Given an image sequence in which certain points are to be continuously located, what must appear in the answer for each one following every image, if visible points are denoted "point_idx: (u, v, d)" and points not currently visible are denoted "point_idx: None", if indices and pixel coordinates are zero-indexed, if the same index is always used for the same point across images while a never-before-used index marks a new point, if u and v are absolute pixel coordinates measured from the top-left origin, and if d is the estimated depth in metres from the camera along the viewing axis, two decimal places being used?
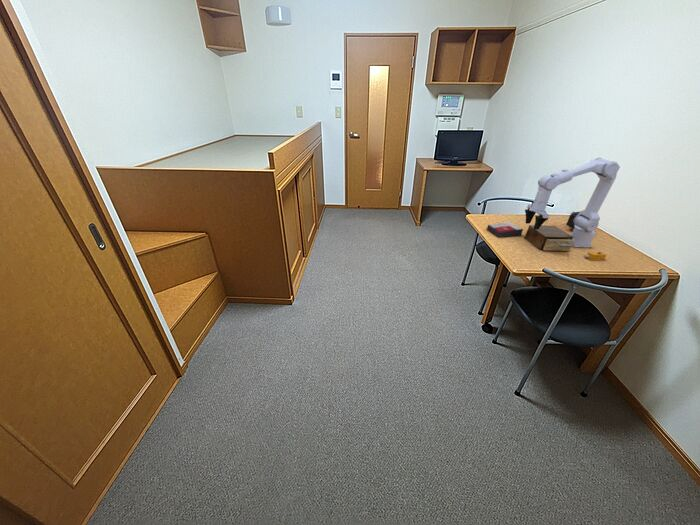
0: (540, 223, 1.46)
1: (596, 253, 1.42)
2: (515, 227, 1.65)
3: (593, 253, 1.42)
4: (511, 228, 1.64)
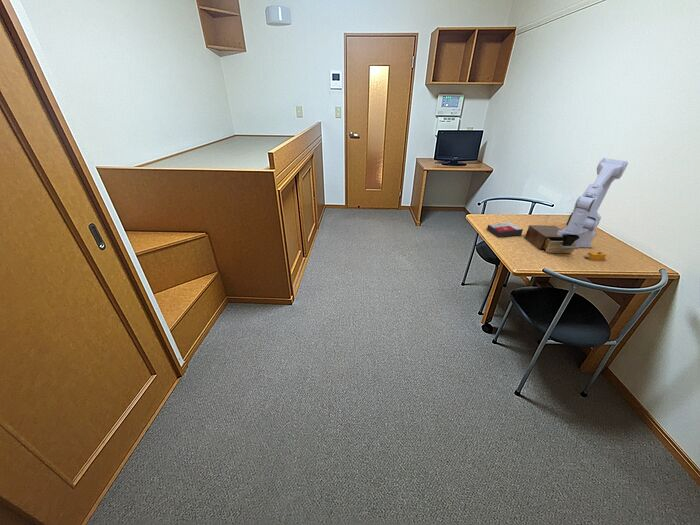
0: (567, 242, 1.41)
1: (596, 253, 1.42)
2: (515, 227, 1.65)
3: (593, 253, 1.42)
4: (511, 228, 1.64)
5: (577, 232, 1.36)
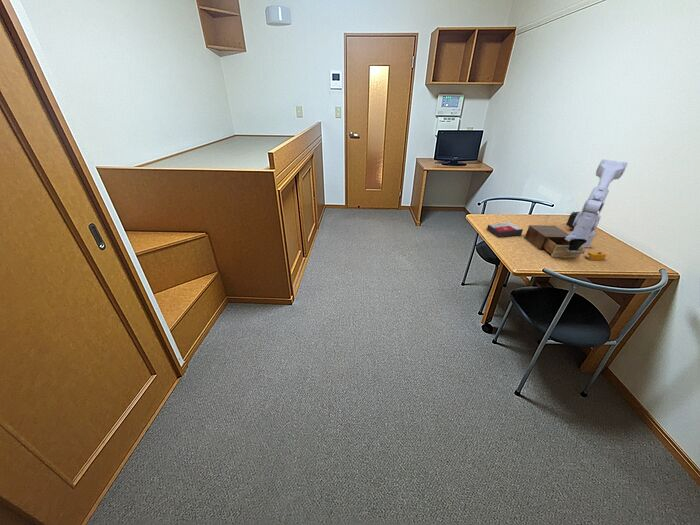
0: (574, 247, 1.37)
1: (596, 253, 1.42)
2: (515, 227, 1.65)
3: (593, 253, 1.42)
4: (511, 228, 1.64)
5: (585, 236, 1.32)
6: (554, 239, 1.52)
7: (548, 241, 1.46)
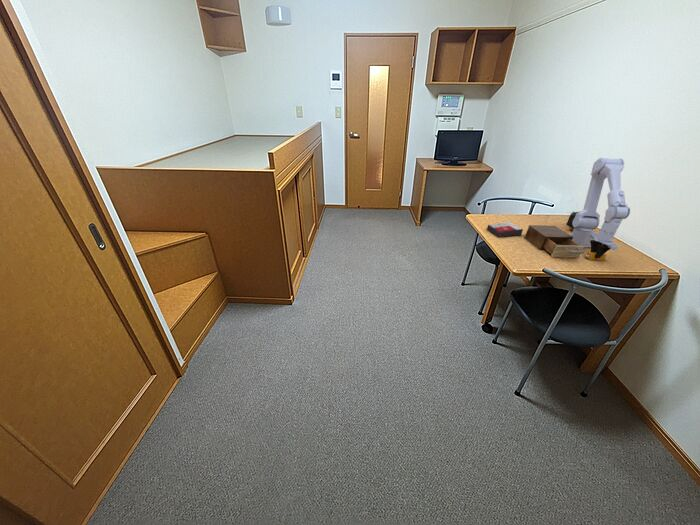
0: (602, 252, 1.40)
1: None
2: (515, 227, 1.65)
3: (593, 253, 1.42)
4: (511, 228, 1.64)
5: None
6: (554, 239, 1.52)
7: (548, 241, 1.46)
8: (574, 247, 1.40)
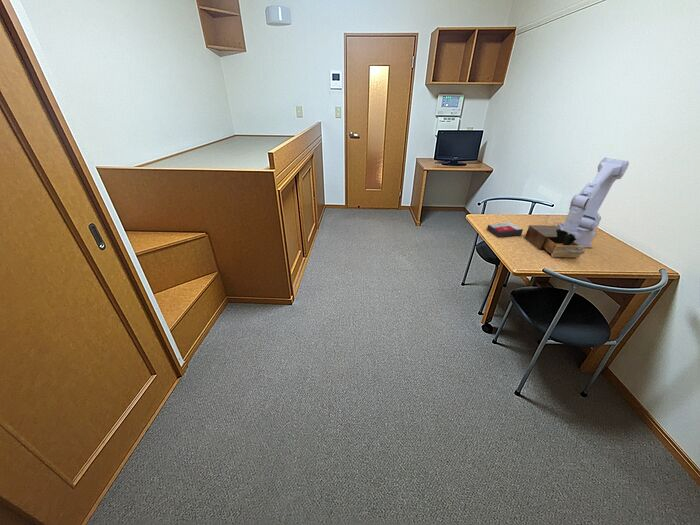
0: (569, 242, 1.41)
1: (562, 244, 1.45)
2: (515, 227, 1.65)
3: (559, 244, 1.45)
4: (511, 228, 1.64)
5: None
6: (554, 239, 1.52)
7: (548, 241, 1.46)
8: (574, 247, 1.40)
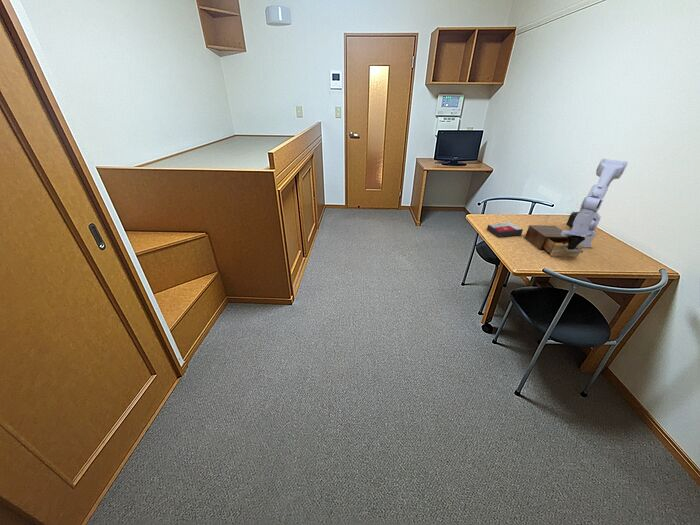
0: None
1: (561, 243, 1.46)
2: (515, 227, 1.65)
3: (558, 243, 1.46)
4: (511, 228, 1.64)
5: None
6: (553, 238, 1.53)
7: (547, 240, 1.47)
8: None
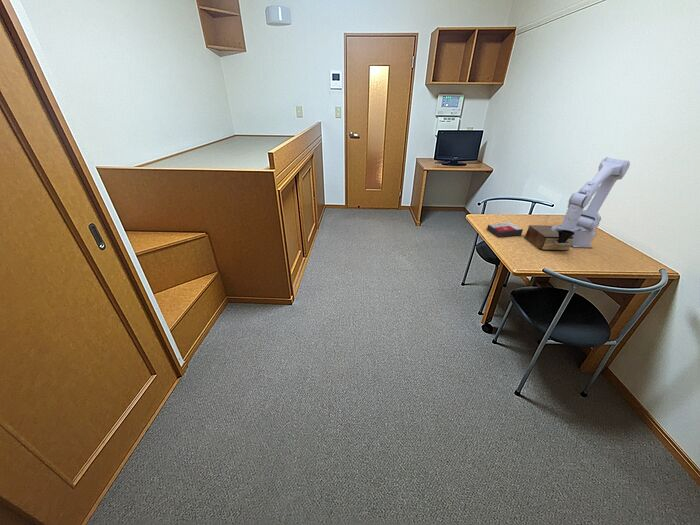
0: None
1: None
2: (515, 227, 1.65)
3: None
4: (511, 228, 1.64)
5: None
6: None
7: None
8: None
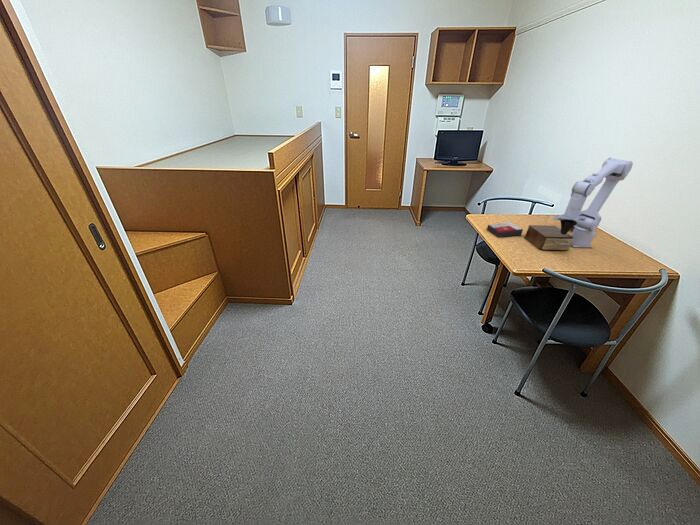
0: None
1: None
2: (515, 227, 1.65)
3: None
4: (511, 228, 1.64)
5: None
6: None
7: None
8: (563, 240, 1.47)
